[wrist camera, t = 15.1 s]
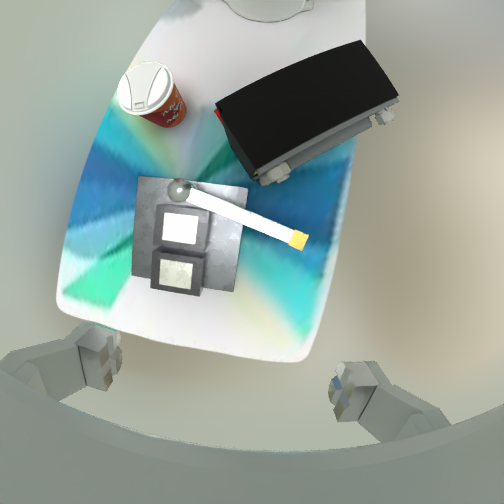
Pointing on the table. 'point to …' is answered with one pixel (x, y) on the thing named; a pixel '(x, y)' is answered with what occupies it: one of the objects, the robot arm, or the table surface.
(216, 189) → the tray
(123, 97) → the paper cup
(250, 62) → the table surface
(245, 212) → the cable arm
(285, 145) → the electrical component
